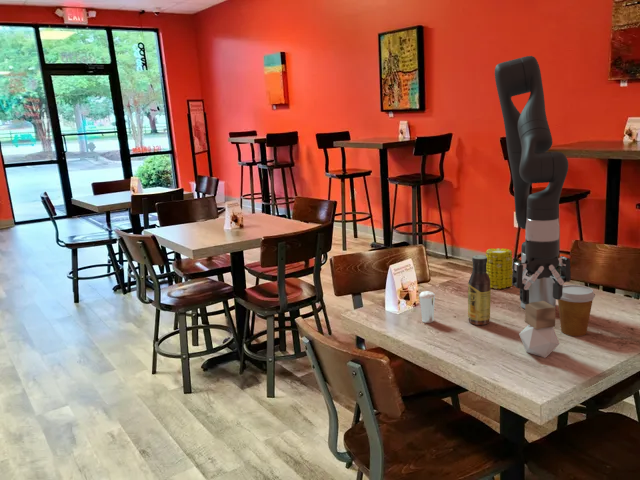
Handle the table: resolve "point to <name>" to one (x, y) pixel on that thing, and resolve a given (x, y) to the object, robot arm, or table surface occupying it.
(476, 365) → the table surface
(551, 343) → the die
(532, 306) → the walnut cube
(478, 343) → the table surface
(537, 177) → the robot arm
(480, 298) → the sauce bottle
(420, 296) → the milkshake
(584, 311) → the disposable coffee cup
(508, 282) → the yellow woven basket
